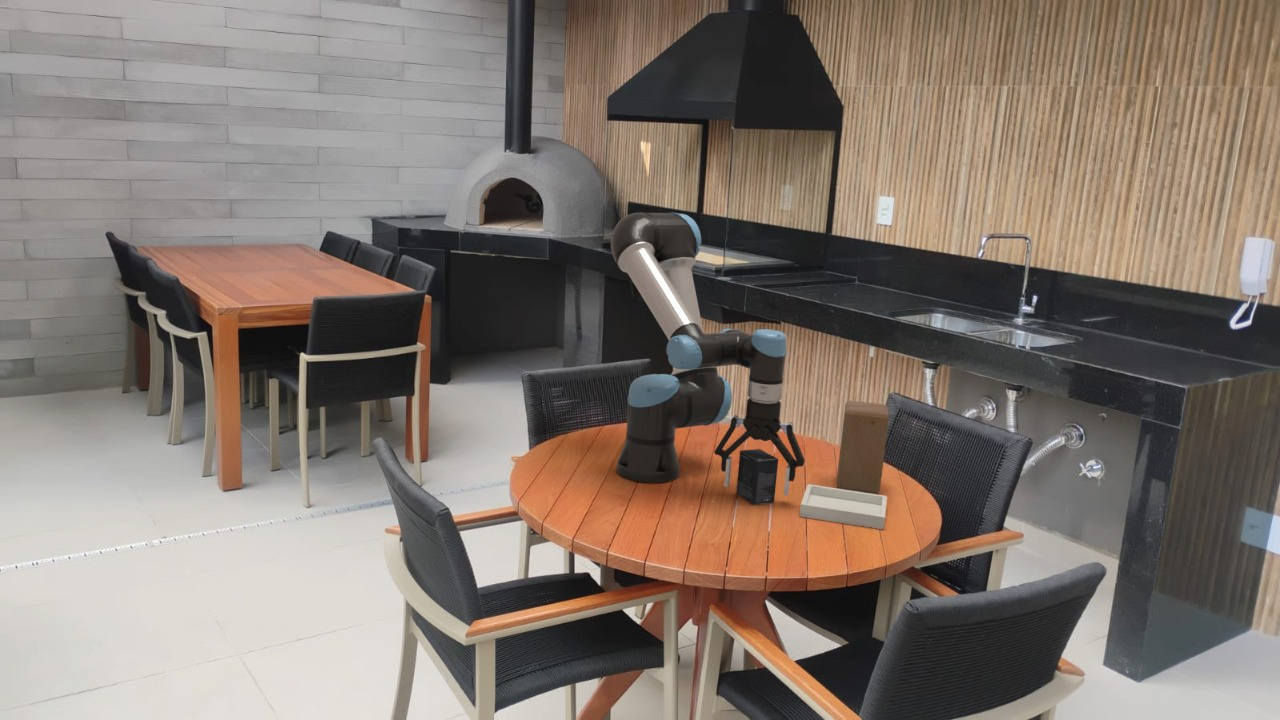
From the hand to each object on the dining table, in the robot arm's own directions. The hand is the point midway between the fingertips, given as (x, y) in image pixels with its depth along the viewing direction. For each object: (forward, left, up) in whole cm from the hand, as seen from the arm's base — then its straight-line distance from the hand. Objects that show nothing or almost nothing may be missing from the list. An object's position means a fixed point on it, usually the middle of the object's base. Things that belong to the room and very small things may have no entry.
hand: (756, 489), depth 225 cm
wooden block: (+22, +19, -2) cm, 29 cm away
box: (0, 0, -2) cm, 2 cm away
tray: (+20, 0, -2) cm, 20 cm away
